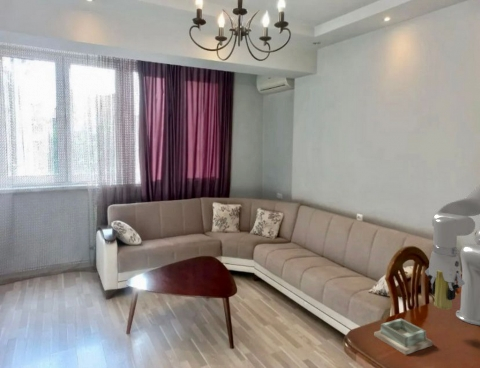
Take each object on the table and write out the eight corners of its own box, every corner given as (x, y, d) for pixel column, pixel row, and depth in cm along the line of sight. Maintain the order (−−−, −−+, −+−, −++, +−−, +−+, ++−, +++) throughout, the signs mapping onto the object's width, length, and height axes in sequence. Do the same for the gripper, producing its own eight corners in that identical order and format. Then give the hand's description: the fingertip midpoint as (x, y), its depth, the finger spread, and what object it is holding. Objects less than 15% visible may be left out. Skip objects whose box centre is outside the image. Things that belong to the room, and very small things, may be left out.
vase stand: (400, 327, 137) (400, 315, 137) (432, 345, 125) (433, 332, 124) (374, 335, 131) (374, 323, 131) (405, 354, 119) (406, 341, 118)
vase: (455, 310, 129) (456, 273, 127) (437, 309, 130) (437, 272, 128) (448, 302, 135) (449, 267, 133) (431, 302, 136) (432, 266, 134)
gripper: (474, 254, 124) (472, 302, 126) (430, 243, 139) (429, 286, 141) (461, 258, 121) (459, 307, 122) (417, 246, 136) (416, 290, 138)
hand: (443, 295), depth 132 cm, fingers closed on vase, 5 cm apart
